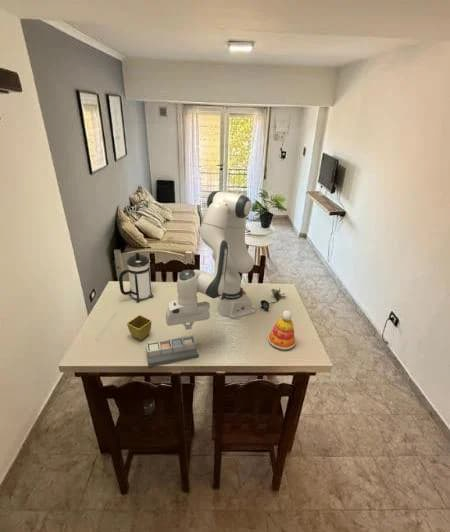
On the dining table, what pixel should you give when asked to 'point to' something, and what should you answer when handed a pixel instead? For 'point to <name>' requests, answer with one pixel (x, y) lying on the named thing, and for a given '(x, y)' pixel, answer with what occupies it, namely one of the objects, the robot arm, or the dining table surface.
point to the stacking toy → (283, 332)
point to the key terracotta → (165, 345)
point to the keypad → (172, 351)
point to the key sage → (153, 347)
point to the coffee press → (137, 277)
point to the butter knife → (101, 334)
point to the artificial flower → (266, 305)
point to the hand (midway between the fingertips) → (188, 328)
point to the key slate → (176, 342)
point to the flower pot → (139, 327)
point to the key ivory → (188, 341)
